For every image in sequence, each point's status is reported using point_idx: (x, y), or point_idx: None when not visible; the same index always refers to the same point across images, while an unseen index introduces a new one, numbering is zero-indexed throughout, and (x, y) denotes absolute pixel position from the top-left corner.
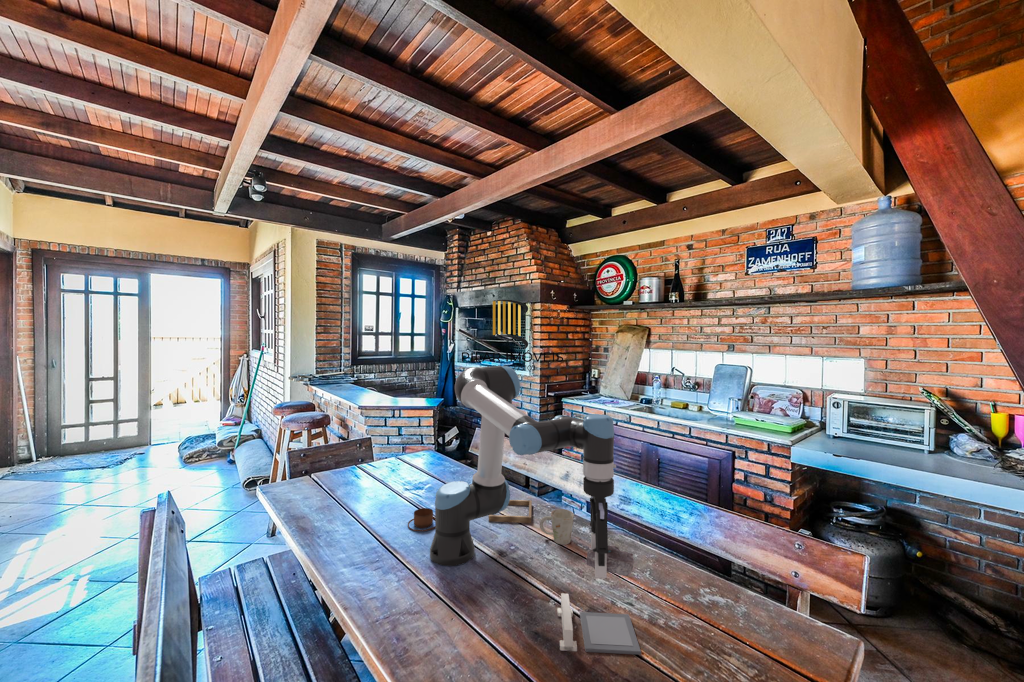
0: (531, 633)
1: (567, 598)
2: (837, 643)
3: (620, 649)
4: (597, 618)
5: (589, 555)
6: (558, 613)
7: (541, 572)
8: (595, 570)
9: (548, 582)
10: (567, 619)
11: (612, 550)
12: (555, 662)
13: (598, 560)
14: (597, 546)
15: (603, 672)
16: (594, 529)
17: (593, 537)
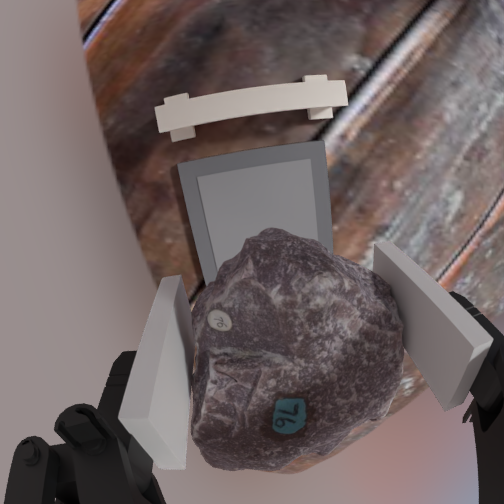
0: (212, 18)
1: (321, 101)
2: (299, 469)
3: (199, 249)
4: (304, 191)
5: (252, 290)
6: (304, 78)
7: (463, 51)
8: (154, 303)
9: (434, 62)
10: (207, 108)
11: (301, 436)
12: (125, 97)
13: (120, 378)
14: (7, 485)
15: (129, 210)
16: (501, 385)
17: (454, 344)
